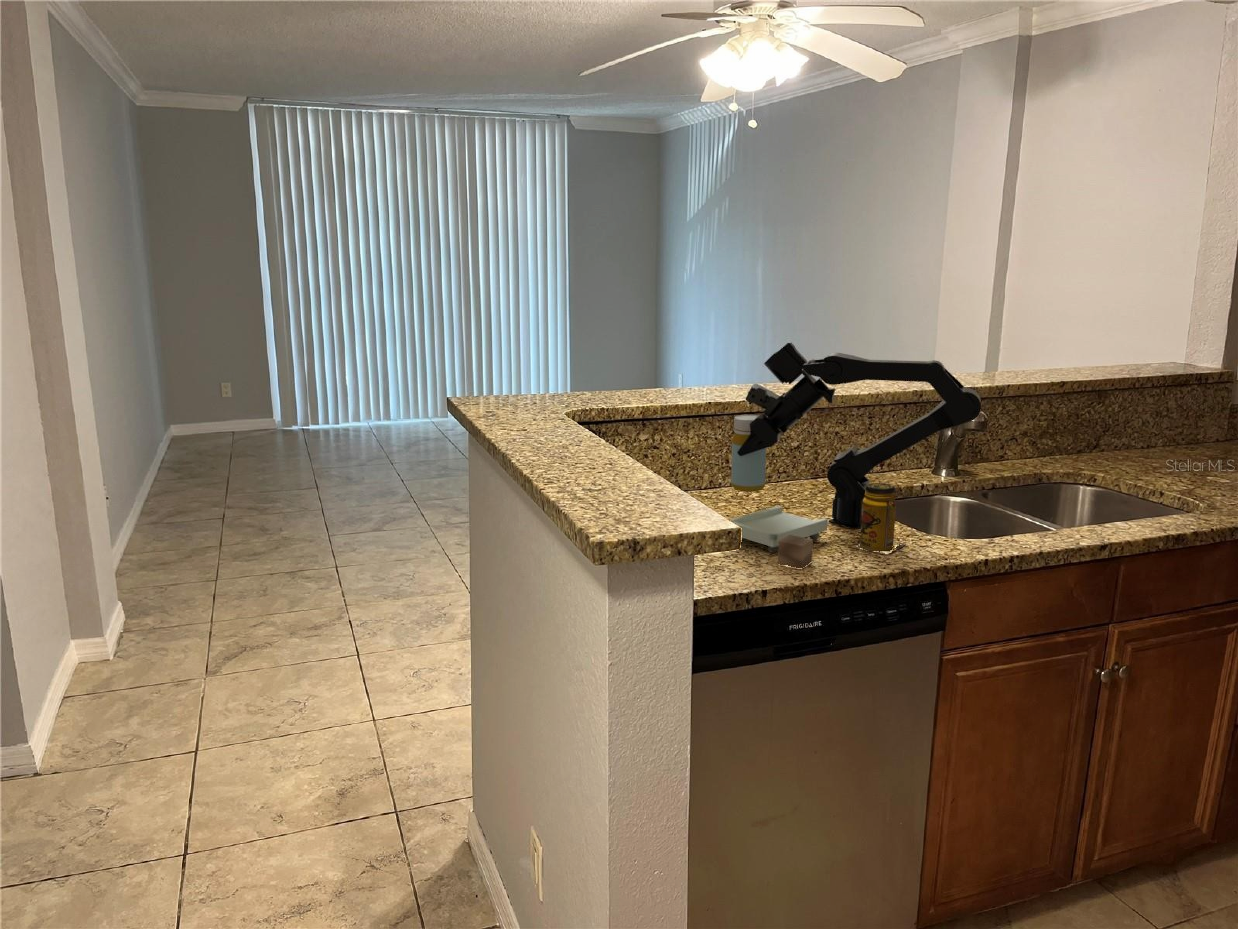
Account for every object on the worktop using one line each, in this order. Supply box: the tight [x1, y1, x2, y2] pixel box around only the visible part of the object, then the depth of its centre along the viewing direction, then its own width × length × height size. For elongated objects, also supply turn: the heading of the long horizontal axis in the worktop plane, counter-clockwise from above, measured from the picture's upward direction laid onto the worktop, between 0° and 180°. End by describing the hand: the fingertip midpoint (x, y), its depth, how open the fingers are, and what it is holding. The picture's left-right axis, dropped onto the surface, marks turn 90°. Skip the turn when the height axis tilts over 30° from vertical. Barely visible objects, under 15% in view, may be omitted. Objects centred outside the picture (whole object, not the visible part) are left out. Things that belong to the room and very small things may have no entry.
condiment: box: [852, 482, 907, 556], centre depth 172 cm, size 7×8×12 cm
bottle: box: [730, 414, 767, 493], centre depth 191 cm, size 7×7×15 cm
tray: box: [728, 505, 829, 554], centre depth 176 cm, size 12×16×4 cm
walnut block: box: [777, 535, 814, 568], centre depth 163 cm, size 4×4×4 cm
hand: (742, 450), depth 192 cm, fingers closed on bottle, 7 cm apart
